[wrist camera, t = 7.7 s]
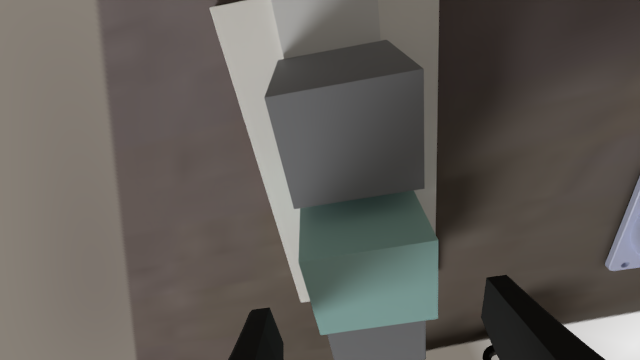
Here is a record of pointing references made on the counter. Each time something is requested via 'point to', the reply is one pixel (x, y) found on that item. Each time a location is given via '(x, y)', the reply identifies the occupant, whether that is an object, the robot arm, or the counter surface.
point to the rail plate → (257, 75)
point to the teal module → (369, 262)
